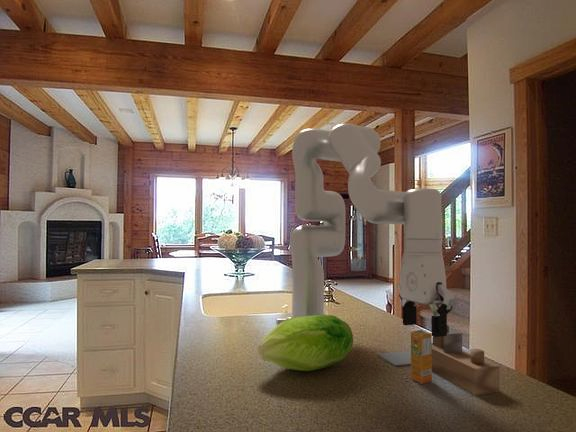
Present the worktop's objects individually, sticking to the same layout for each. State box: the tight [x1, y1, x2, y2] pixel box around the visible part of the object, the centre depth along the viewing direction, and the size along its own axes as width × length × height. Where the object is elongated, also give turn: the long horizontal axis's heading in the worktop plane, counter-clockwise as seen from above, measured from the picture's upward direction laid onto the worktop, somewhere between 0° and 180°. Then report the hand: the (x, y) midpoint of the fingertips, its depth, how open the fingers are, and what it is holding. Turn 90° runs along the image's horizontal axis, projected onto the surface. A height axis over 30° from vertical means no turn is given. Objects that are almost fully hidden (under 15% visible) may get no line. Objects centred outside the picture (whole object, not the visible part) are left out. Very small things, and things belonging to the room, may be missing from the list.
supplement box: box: [410, 329, 433, 384], centre depth 83 cm, size 3×3×10 cm
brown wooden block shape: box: [432, 324, 501, 396], centre depth 84 cm, size 6×16×10 cm, turn 18°
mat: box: [376, 350, 411, 368], centre depth 95 cm, size 8×8×1 cm
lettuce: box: [257, 314, 354, 372], centre depth 88 cm, size 13×23×12 cm, turn 115°
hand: (423, 330), depth 82 cm, fingers open, 9 cm apart
